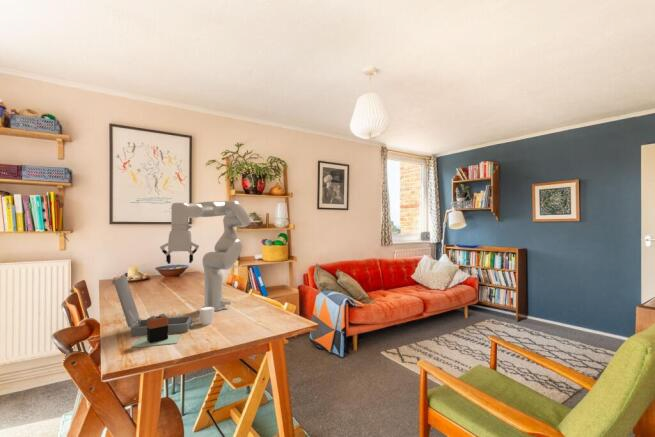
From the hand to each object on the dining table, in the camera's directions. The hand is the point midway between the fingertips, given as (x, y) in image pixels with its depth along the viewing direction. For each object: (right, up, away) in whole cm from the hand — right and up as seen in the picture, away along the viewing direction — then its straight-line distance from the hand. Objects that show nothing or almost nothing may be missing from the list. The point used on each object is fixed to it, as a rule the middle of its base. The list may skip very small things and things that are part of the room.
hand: (179, 263), depth 155 cm
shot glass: (+14, -28, -3) cm, 32 cm away
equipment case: (-2, -28, -12) cm, 31 cm away
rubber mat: (+3, -28, -27) cm, 39 cm away
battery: (+3, -28, -26) cm, 38 cm away
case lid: (-15, -14, -16) cm, 26 cm away
